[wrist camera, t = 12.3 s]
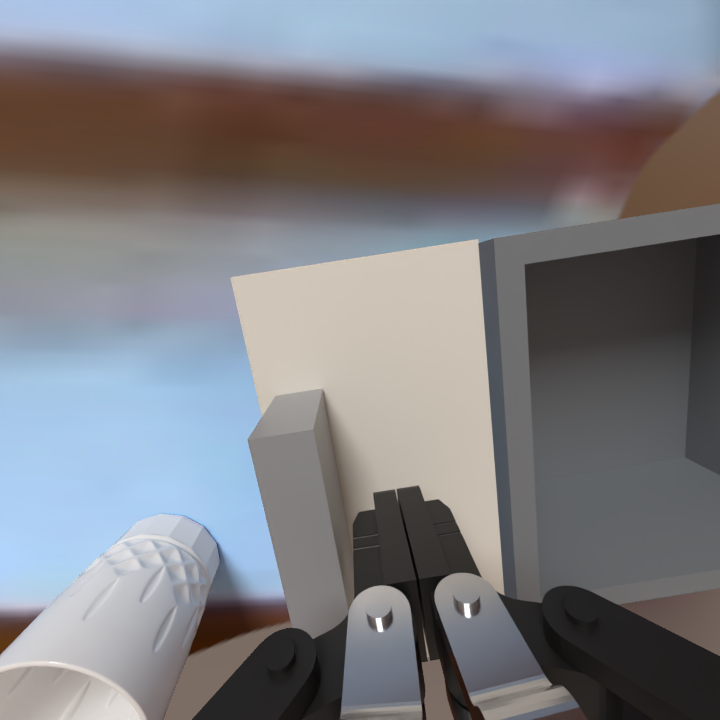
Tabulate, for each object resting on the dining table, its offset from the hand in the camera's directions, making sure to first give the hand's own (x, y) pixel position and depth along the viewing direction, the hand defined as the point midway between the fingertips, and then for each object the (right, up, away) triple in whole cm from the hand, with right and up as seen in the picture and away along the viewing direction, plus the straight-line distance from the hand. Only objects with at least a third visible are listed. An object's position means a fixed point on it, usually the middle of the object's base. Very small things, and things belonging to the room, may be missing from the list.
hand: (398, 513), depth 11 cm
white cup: (-14, -9, +13) cm, 21 cm away
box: (+12, +4, +11) cm, 17 cm away
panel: (0, +1, +2) cm, 2 cm away
